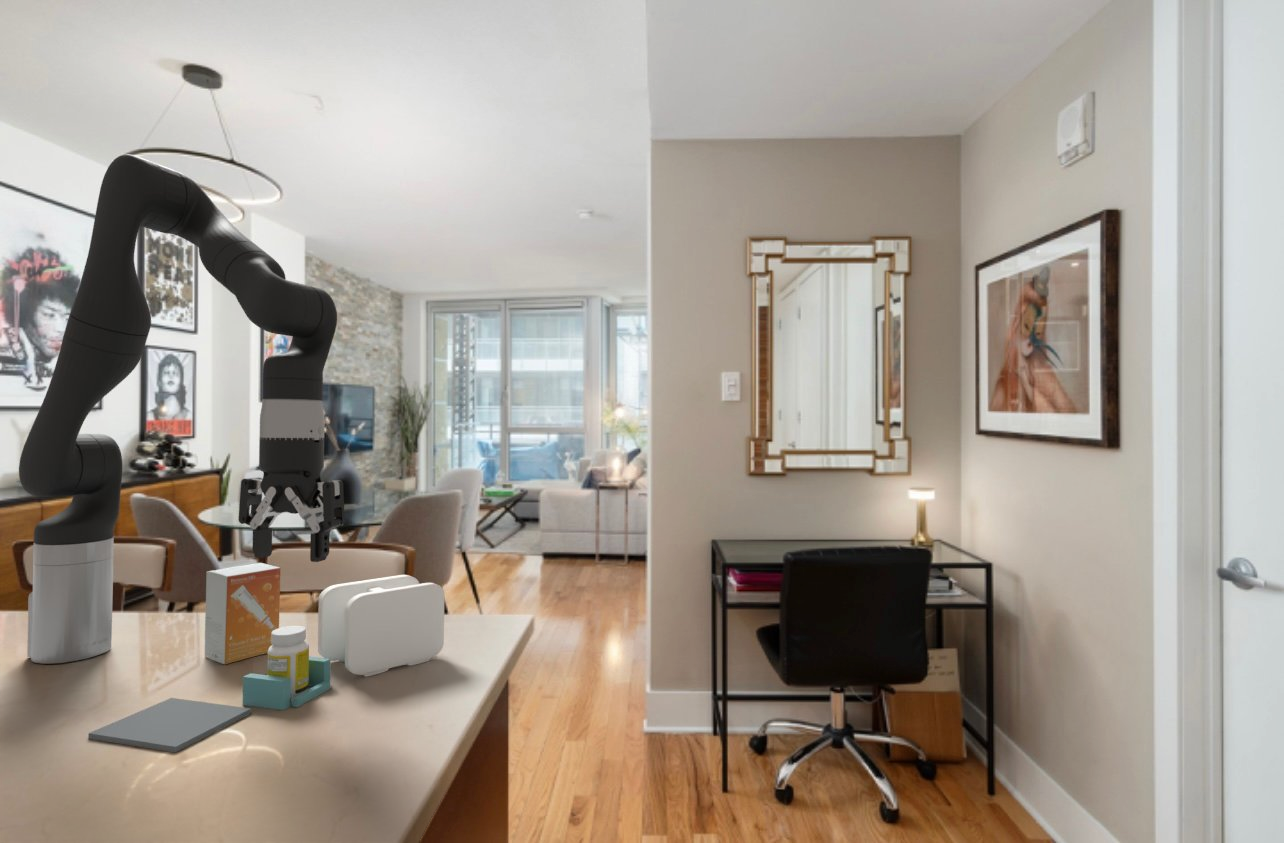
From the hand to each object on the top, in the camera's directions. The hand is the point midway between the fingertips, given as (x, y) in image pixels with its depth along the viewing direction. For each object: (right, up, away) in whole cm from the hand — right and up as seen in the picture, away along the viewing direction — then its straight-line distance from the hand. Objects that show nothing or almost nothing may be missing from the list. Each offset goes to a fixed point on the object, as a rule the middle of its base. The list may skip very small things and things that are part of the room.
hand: (290, 559), depth 87 cm
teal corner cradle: (0, -18, 0) cm, 18 cm away
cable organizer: (+7, -18, +13) cm, 23 cm away
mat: (-9, -17, -9) cm, 22 cm away
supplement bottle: (0, -18, 0) cm, 18 cm away
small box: (-15, -18, +15) cm, 28 cm away
